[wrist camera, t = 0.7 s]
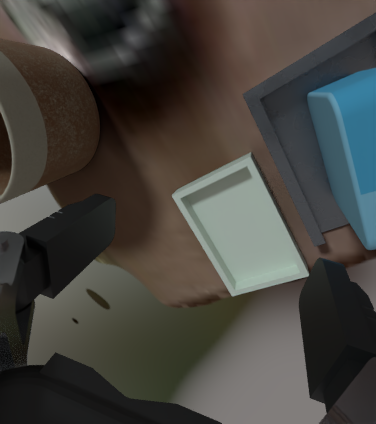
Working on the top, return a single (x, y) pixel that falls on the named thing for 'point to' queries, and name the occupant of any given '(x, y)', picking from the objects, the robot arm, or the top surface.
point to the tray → (241, 227)
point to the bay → (309, 121)
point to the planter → (42, 118)
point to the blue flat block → (350, 147)
